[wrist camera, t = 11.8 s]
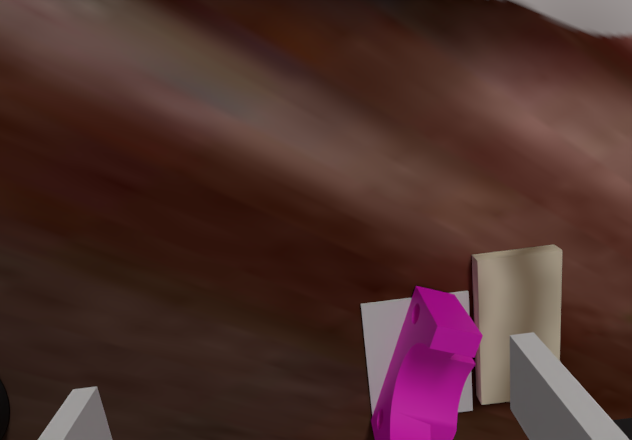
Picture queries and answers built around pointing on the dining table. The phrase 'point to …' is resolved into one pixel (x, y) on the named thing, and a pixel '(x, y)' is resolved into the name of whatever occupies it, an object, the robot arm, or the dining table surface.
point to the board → (513, 310)
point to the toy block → (427, 370)
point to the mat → (382, 338)
